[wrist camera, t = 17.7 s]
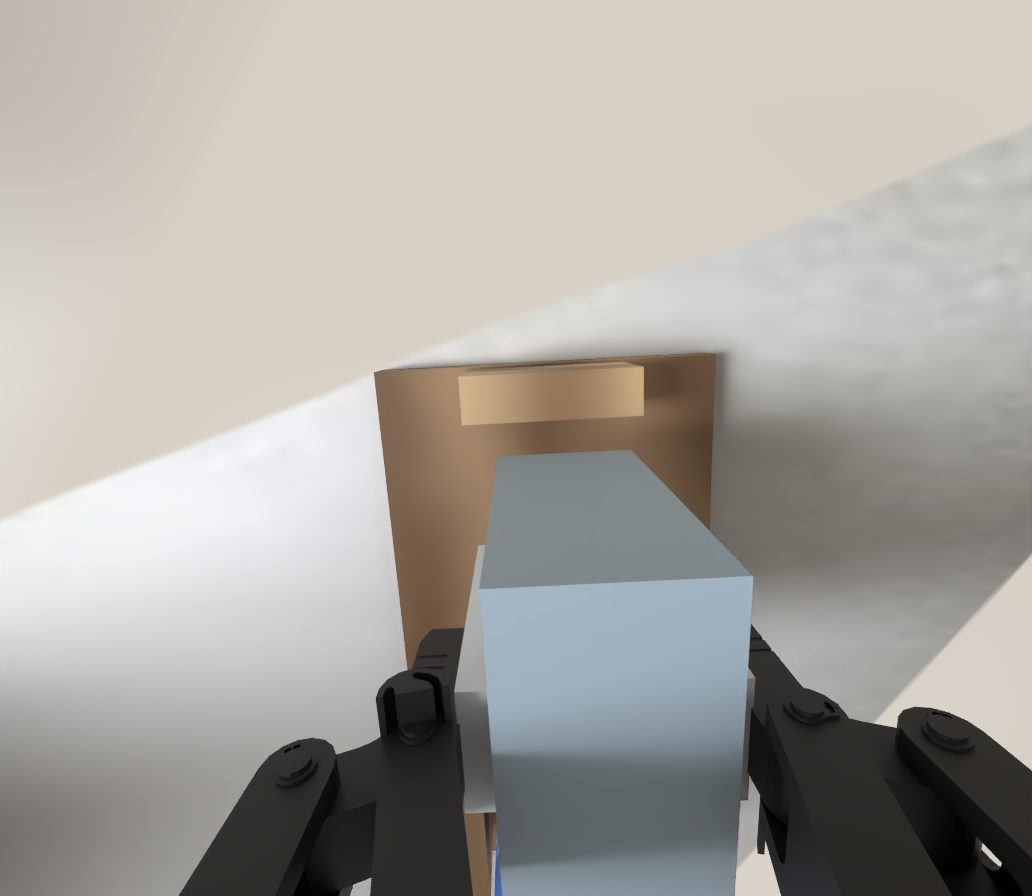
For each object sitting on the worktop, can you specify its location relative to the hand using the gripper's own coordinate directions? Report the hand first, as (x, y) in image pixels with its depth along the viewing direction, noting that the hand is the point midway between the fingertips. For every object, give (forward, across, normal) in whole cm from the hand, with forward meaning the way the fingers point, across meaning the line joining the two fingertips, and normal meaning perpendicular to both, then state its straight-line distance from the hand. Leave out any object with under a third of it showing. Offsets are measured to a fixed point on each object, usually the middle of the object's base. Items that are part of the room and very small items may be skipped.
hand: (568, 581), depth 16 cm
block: (0, 0, 0) cm, 0 cm away
